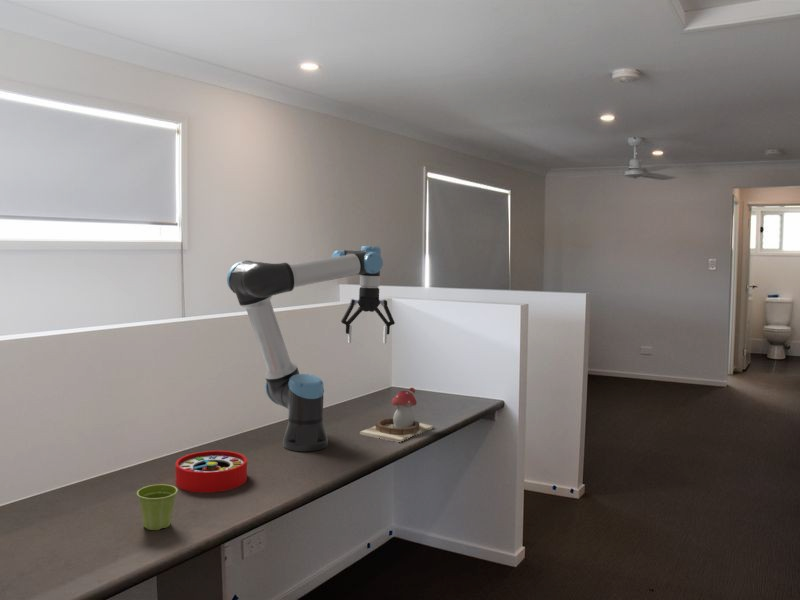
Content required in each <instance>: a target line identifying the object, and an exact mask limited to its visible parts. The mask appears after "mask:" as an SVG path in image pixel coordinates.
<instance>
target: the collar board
mask: <svg viewBox="0 0 800 600" xmlns="http://www.w3.org/2000/svg"><path fill="white" fill-rule="evenodd" d="M393 424H394V423H393V417H385V418H381V419H377V420H376V421H375V425H374V426H372V427H369V428H366V429H363V430H361V431H359V435H361V436H365V437H369V438H376V439H379V438H380V440H384V439H385V440H384V441H388V440H390V441H389V442H393V441H395V442H394V443H398V442H400V443H402V442H401V441H403V442H404V440H405V441H407V440H409V439H408V438H410V437H412V436H414V435H416V436H418V435H417V434H419V435H421V434H423V433H425V431H426V432H428V431H430V430H432V428H433V429H434V425H433V424H428V423H422V422H419V421H417V420H416V419H414V422H413V426H412V427H408V428H393ZM427 430H428V431H427ZM422 432H423V433H422ZM420 433H421V434H420ZM414 437H415V436H414ZM412 438H413V437H412ZM406 439H407V440H406ZM410 439H411V438H410Z"/></svg>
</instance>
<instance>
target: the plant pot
mask: <svg viewBox="0 0 800 600" xmlns="http://www.w3.org/2000/svg"><path fill="white" fill-rule="evenodd" d="M178 490H179V489H178V487H177V486H174V485H171V484H160V483H159V484H151V485H147V486H143V487H142V488H140V489H138V490H137V491H136V495H137V497H138V500H139V503H140V507H141V508H140V510H141V515H142V523H143V527H144V528H145V529H146V530H149V531H159V530H161V529H166V528H168V527H169V526H170V525H171V521H172V515H173V513H172V512H173V508H174V501H175V499H176V495H177V494H178Z"/></svg>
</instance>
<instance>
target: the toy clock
mask: <svg viewBox="0 0 800 600" xmlns="http://www.w3.org/2000/svg"><path fill="white" fill-rule="evenodd" d="M247 479H248V459H247V457H246V456H245V455H244V454H243V453H239V452H236V451H230V450H229V451H228V450H207V451H206V450H204V451H198V452H194V453H189V454H186V455H184V456H181V457H180V458H178V459H177V460H176V461H175V479H174V480H175V481H174V483H175V485H176V488H179V489H180V490H183V491H186V492H192V493H201V492H202V493H203V494H204V493H219V491H220V492H225V491H230V490H232V489H236V488H238V487H240V486H242V485H244V484H245V483H247ZM229 489H230V490H229Z"/></svg>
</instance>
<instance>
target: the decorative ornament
mask: <svg viewBox="0 0 800 600" xmlns="http://www.w3.org/2000/svg"><path fill="white" fill-rule="evenodd" d="M408 389H409V390H401V391H399V392H397V393H396V395H394V396H393V398H392V399H391V404H392V406H396V407H397V409H396V410H395V412H394V413H393V417H392V418H393V423H394V424H393V428H408V427H412V426H413V422H414V420H415V416H414V412H413V410H412V407H413V406H416V405H417V399H416V398H415V395H414V394H415V393H416V388H414V387H410V388H408Z"/></svg>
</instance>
